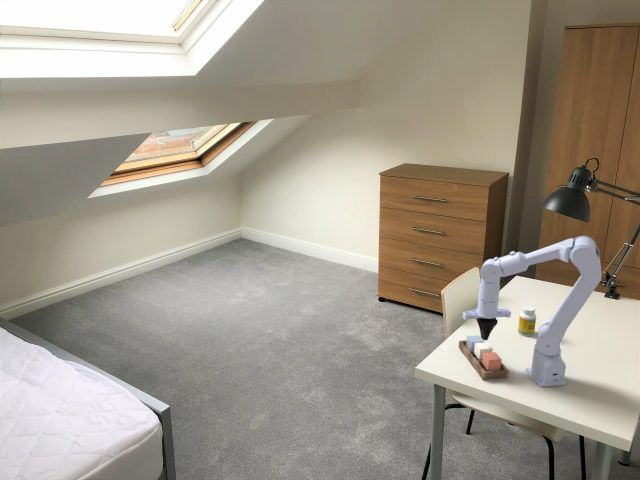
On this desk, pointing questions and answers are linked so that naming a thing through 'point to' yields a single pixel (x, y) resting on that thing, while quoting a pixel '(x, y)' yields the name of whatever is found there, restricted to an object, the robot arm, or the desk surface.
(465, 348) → the frame
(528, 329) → the supplement bottle
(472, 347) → the key blue
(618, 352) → the desk surface
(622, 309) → the desk surface
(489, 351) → the key white
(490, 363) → the key terracotta
